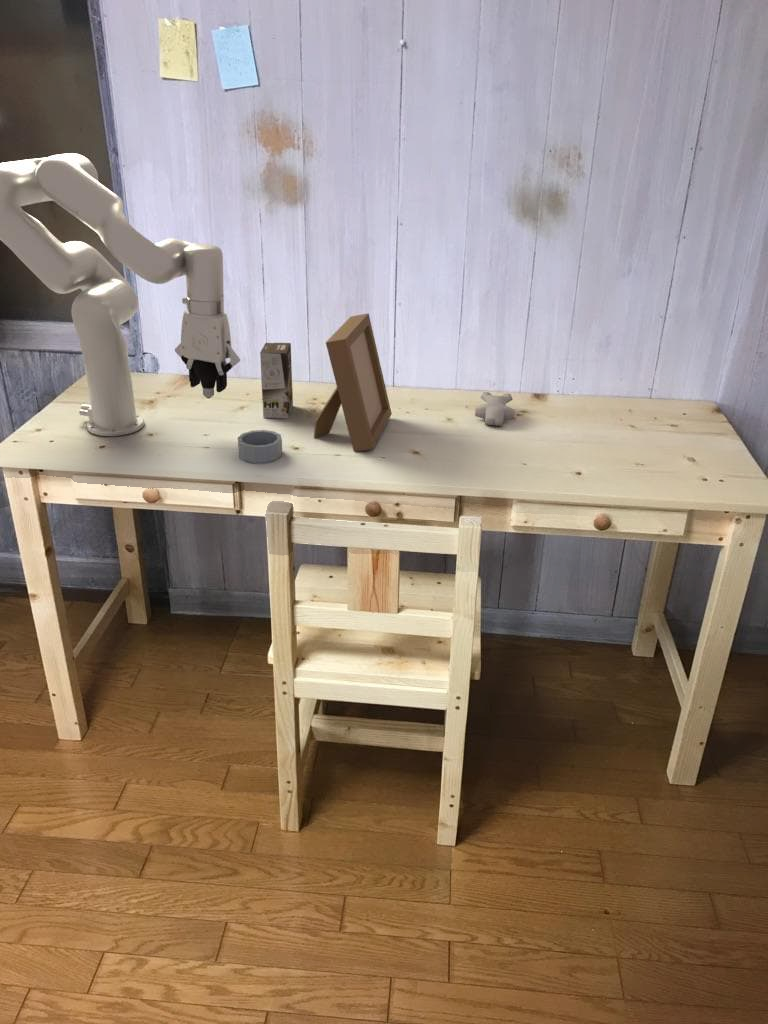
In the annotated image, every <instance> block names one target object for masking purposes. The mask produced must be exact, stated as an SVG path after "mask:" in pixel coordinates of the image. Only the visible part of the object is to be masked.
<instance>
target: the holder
mask: <svg viewBox="0 0 768 1024" xmlns="http://www.w3.org/2000/svg"><path fill="white" fill-rule="evenodd" d="M282 439H283V438H282V435H281V434H280V433H278V432H276V431H274V430H265V429H259V430H250V431H247V432H243V433H241V434H240V435H239V436H238V437H237V448H238V449H237V450H238V457H239V459H240V460H242V461H243V462H244V463H248V464H256V465H257V464H259V465H260V464H268V463H273V462H275V461H277V460H279V459H280V458H282V456H283V440H282Z"/></svg>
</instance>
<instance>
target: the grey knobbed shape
mask: <svg viewBox="0 0 768 1024" xmlns="http://www.w3.org/2000/svg"><path fill="white" fill-rule="evenodd" d="M480 399H482V401H484V402H485V404H481V405H479V406H475V408H474V409H475V411H474V417H477V418H481V419H482V420H484V425H485V426H498V427H500V426H501V427H503V426H504V422H505V421H511V420H515V414H516V409H514V408H511V407H510V406H507V405H506V404H508V403H510V402H511V401H513V397H512V394H511V393H504V394H502V395H497V394H496V395H492V393H490V392H487V391H483V392H482V394H481V395H480Z"/></svg>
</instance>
